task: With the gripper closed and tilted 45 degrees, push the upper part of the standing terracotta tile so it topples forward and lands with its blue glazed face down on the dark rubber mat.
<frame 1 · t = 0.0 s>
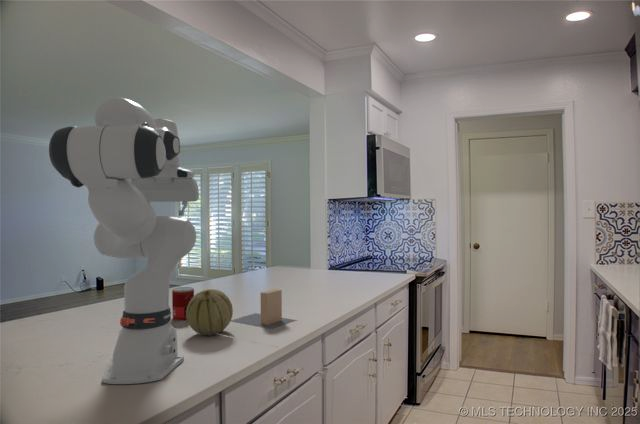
hand: (166, 215, 142), 39 cm above the worktop, tool pointing down, fingers open, 8 cm apart
cantaloupe: (209, 334, 145), on the worktop
tile: (271, 322, 158), resting on mat
mat: (263, 321, 161), on the worktop
canned food: (183, 318, 168), on the worktop
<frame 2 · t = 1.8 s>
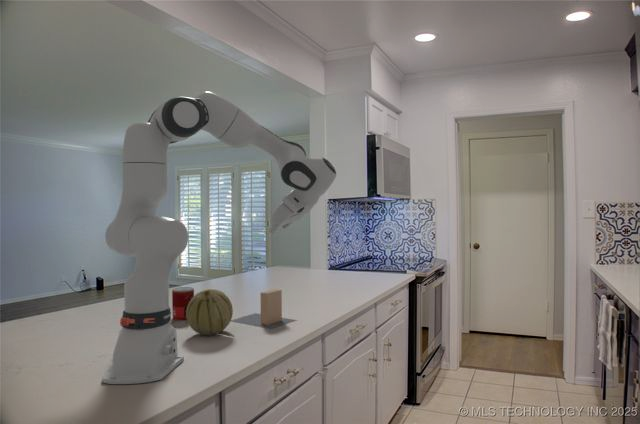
hand: (277, 229, 154), 34 cm above the worktop, tool tilted 45°, fingers open, 8 cm apart
nothing on the worktop moved.
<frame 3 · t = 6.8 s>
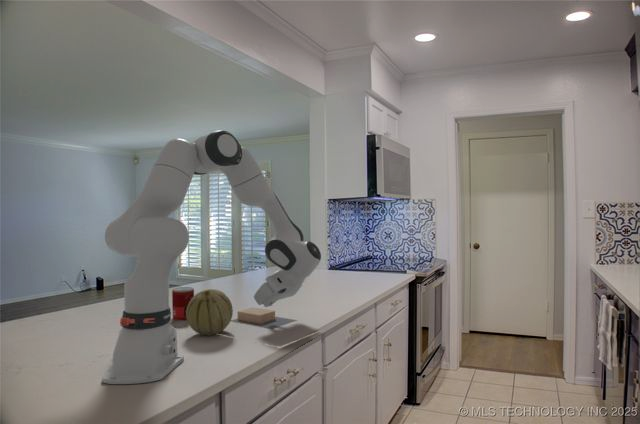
hand: (266, 305, 160), 6 cm above the worktop, tool tilted 45°, fingers closed
tile: (267, 317, 159), point 2 cm above the worktop, tilted 90°, touching mat
everything else where it was.
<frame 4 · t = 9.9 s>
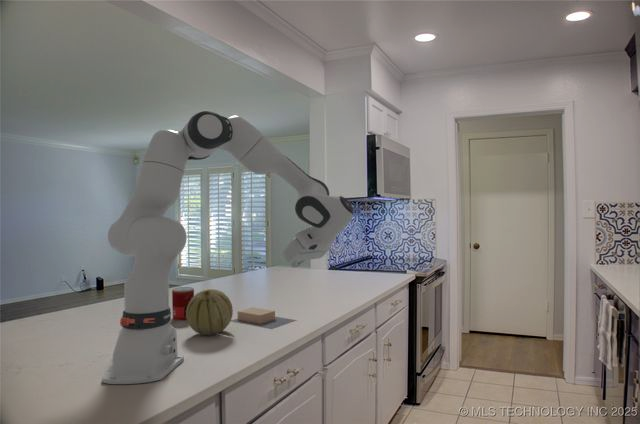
hand: (294, 265, 152), 21 cm above the worktop, tool tilted 45°, fingers closed
nothing on the worktop moved.
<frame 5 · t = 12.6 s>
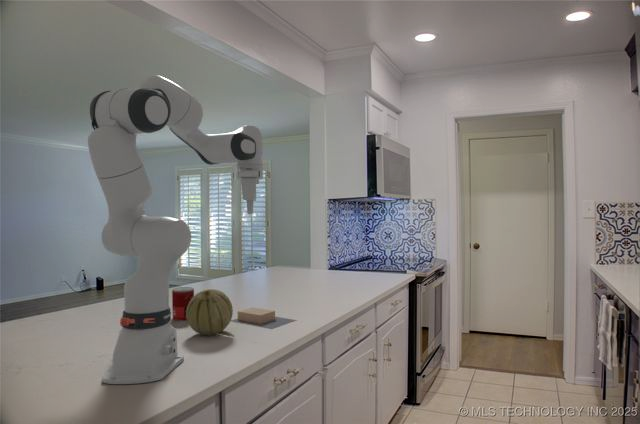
hand: (250, 214, 153), 39 cm above the worktop, tool pointing down, fingers closed
nothing on the worktop moved.
at the end: tile tilted 90°; tile point 2.0 cm above the worktop; tile 2.4 cm from the mat (horizontally) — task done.
